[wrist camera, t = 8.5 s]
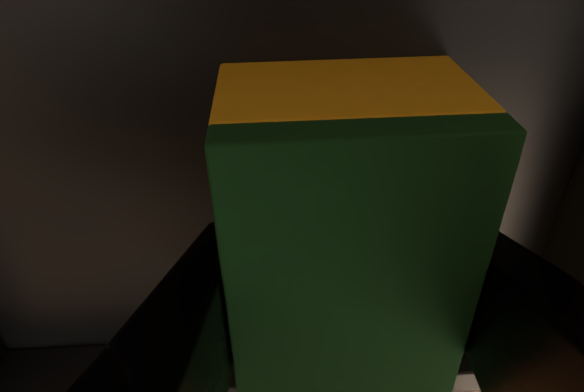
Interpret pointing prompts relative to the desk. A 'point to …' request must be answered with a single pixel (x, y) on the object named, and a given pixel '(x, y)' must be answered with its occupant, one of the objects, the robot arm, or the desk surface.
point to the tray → (192, 133)
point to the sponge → (355, 218)
